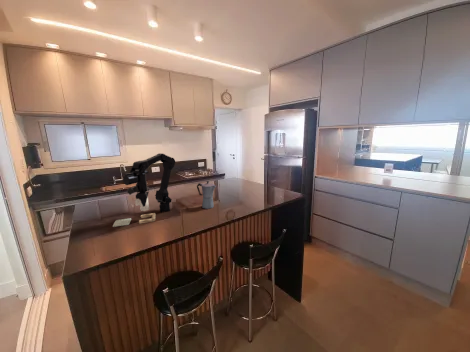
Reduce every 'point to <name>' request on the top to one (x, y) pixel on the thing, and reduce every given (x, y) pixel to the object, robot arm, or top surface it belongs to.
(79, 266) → the top surface
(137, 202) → the cream jug
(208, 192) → the moka pot
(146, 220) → the oak cradle
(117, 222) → the sage coaster
